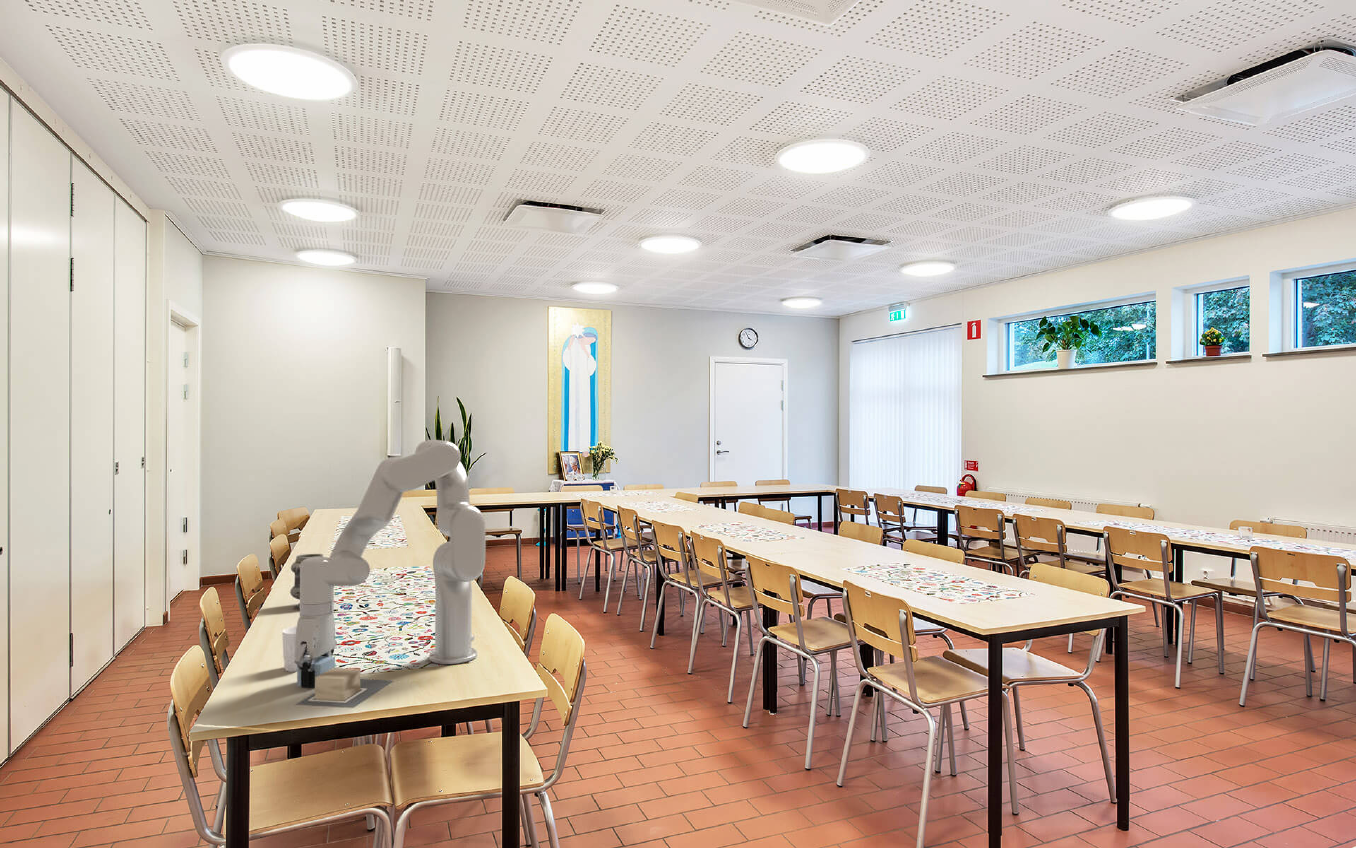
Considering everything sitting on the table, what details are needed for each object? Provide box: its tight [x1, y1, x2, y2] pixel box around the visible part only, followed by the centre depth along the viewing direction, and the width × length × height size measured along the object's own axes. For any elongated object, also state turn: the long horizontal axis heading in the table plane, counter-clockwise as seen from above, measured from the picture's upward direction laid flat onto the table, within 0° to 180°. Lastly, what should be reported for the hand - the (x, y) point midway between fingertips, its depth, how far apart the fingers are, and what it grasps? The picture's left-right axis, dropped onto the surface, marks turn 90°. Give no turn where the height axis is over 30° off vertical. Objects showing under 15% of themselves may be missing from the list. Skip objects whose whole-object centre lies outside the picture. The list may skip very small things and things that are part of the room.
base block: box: [314, 667, 361, 701], centre depth 176 cm, size 7×7×5 cm
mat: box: [295, 678, 394, 709], centre depth 178 cm, size 18×14×1 cm
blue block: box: [296, 656, 336, 688], centre depth 184 cm, size 6×6×6 cm
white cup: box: [281, 625, 310, 673], centre depth 197 cm, size 8×8×10 cm
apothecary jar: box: [289, 553, 324, 610], centre depth 263 cm, size 12×12×18 cm
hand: (316, 681), depth 184 cm, fingers closed on blue block, 6 cm apart
